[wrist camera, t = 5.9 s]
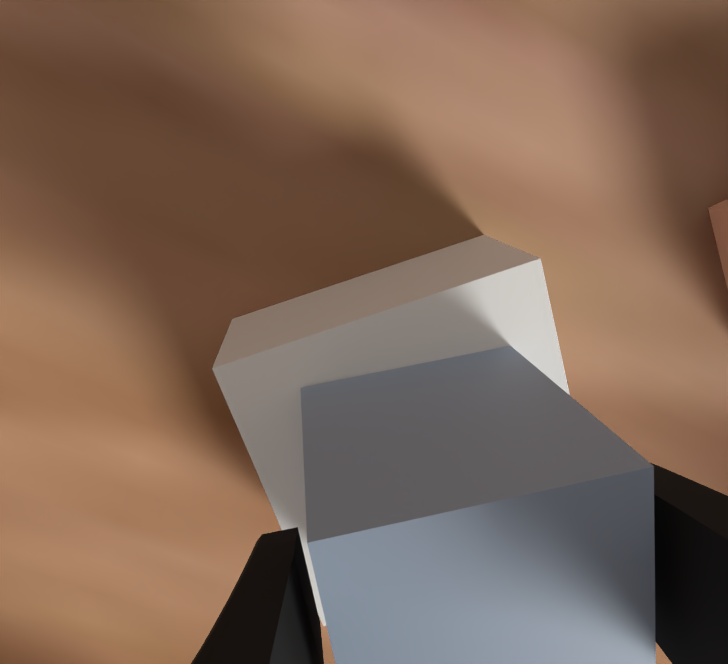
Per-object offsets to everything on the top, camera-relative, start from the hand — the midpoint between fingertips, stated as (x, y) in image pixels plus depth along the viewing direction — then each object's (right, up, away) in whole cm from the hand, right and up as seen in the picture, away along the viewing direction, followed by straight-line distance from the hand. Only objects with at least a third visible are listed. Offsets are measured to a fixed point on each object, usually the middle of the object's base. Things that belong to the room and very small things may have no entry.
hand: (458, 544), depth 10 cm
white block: (-1, +2, +7) cm, 7 cm away
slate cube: (0, +1, +3) cm, 3 cm away
